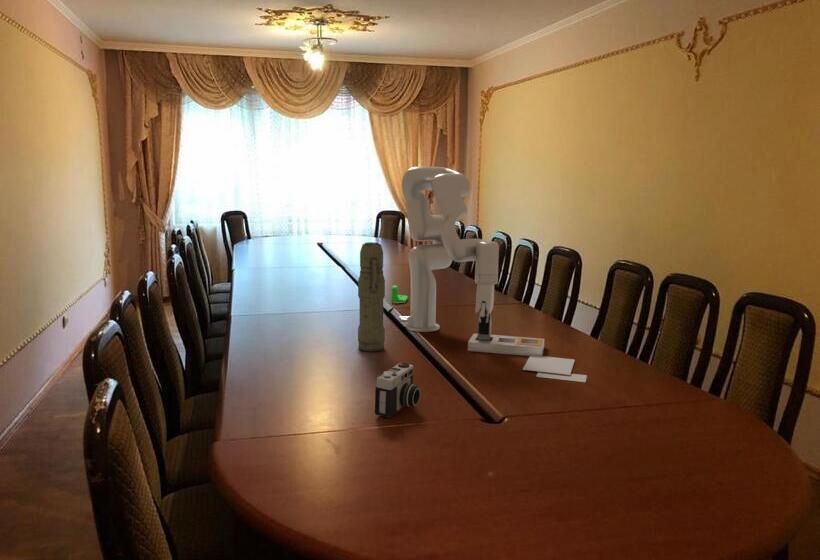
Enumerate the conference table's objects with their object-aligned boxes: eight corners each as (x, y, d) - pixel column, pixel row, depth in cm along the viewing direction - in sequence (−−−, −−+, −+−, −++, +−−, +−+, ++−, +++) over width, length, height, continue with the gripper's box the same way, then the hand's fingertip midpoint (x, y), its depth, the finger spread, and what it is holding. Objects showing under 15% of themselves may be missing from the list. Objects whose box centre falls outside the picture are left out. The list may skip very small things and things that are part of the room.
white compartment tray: (467, 350, 212) (468, 341, 211) (473, 341, 223) (473, 332, 223) (541, 356, 206) (542, 347, 205) (543, 347, 217) (544, 338, 217)
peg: (477, 348, 215) (478, 319, 213) (479, 345, 219) (479, 316, 217) (489, 349, 214) (490, 320, 212) (490, 346, 218) (491, 317, 216)
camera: (400, 421, 151) (400, 380, 149) (368, 413, 156) (368, 374, 154) (429, 404, 163) (430, 366, 161) (399, 397, 167) (400, 360, 166)
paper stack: (606, 364, 199) (606, 362, 199) (602, 390, 176) (602, 387, 176) (530, 356, 207) (530, 354, 207) (517, 380, 183) (517, 377, 183)
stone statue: (378, 342, 221) (379, 240, 215) (389, 351, 210) (390, 244, 204) (353, 344, 218) (353, 241, 212) (363, 353, 207) (363, 245, 201)
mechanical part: (405, 304, 285) (405, 287, 284) (391, 304, 286) (391, 286, 284) (408, 299, 297) (408, 282, 295) (395, 299, 297) (395, 282, 296)
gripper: (478, 274, 221) (477, 326, 224) (471, 282, 205) (469, 337, 208) (500, 275, 219) (498, 327, 222) (494, 283, 203) (492, 339, 206)
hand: (484, 331), depth 215 cm, fingers closed on peg, 4 cm apart
